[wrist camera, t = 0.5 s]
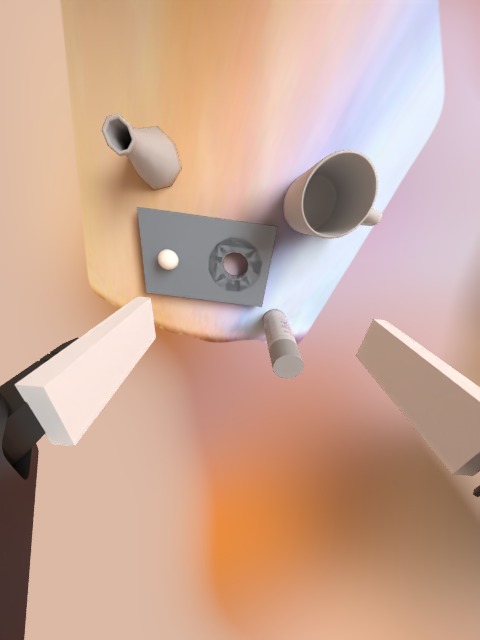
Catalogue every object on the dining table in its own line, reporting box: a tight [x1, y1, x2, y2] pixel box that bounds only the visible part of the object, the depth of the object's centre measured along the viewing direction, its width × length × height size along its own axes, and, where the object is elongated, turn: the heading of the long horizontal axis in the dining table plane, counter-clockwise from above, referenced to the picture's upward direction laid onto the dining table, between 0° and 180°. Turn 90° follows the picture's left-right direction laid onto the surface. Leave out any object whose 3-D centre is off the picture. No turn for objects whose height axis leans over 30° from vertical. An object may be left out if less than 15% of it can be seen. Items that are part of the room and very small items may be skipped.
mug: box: [283, 150, 382, 238], centre depth 26 cm, size 12×8×11 cm
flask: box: [102, 113, 182, 190], centre depth 24 cm, size 7×7×10 cm
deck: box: [137, 207, 277, 307], centre depth 34 cm, size 14×22×2 cm, turn 83°
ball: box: [158, 249, 179, 270], centre depth 32 cm, size 3×3×3 cm
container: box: [263, 309, 304, 378], centre depth 34 cm, size 5×5×15 cm
